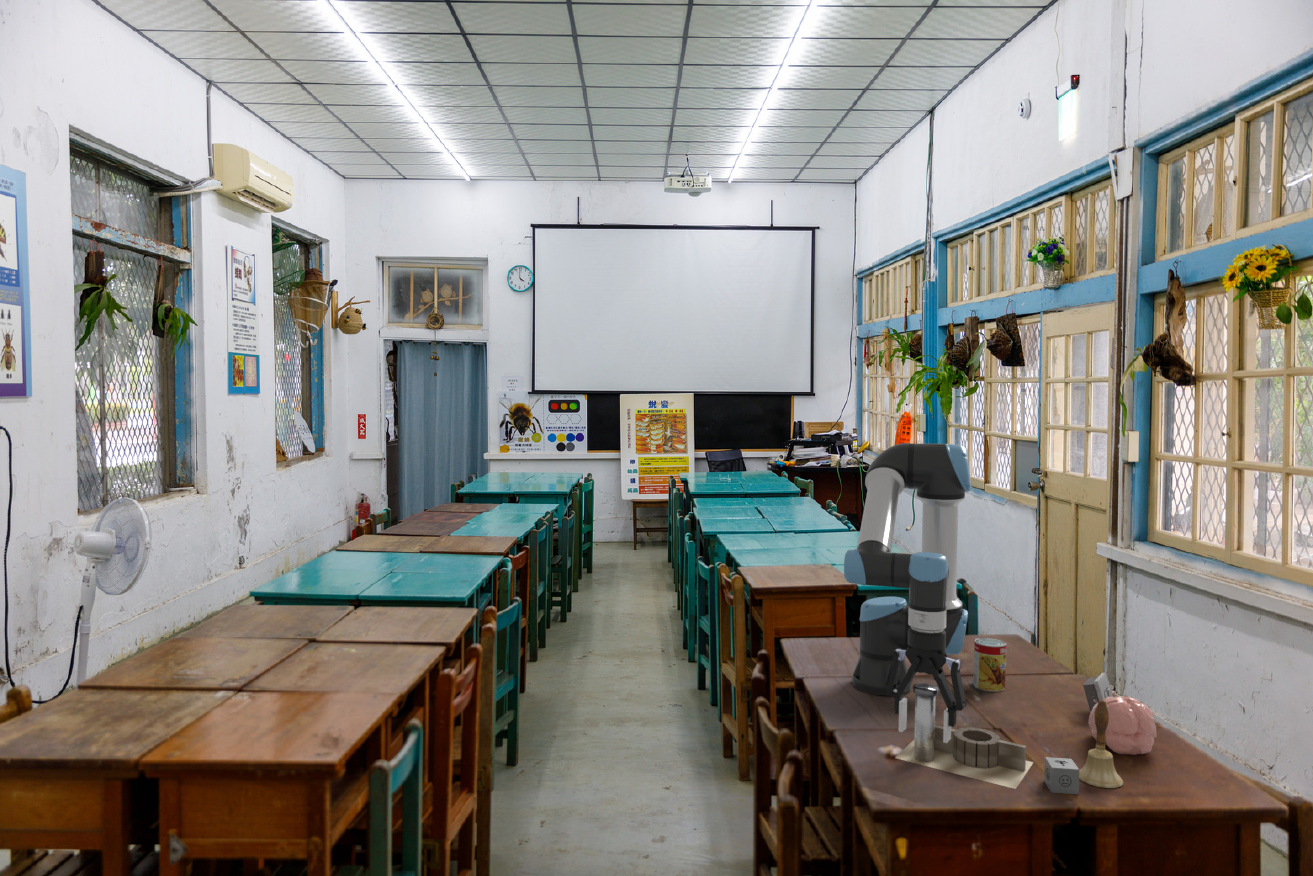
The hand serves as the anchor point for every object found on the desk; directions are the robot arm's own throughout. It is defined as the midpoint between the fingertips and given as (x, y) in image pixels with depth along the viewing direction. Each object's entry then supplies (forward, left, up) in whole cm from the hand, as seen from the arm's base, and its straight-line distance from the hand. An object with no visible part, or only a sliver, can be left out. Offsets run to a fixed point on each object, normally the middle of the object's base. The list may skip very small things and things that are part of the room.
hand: (924, 735), depth 180 cm
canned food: (-2, +58, -6) cm, 58 cm away
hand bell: (+31, +14, -6) cm, 35 cm away
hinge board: (+7, +4, -6) cm, 10 cm away
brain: (+32, +35, -6) cm, 48 cm away
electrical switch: (+25, +54, -6) cm, 60 cm away
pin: (0, 0, -5) cm, 5 cm away
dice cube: (+25, +5, -6) cm, 27 cm away
